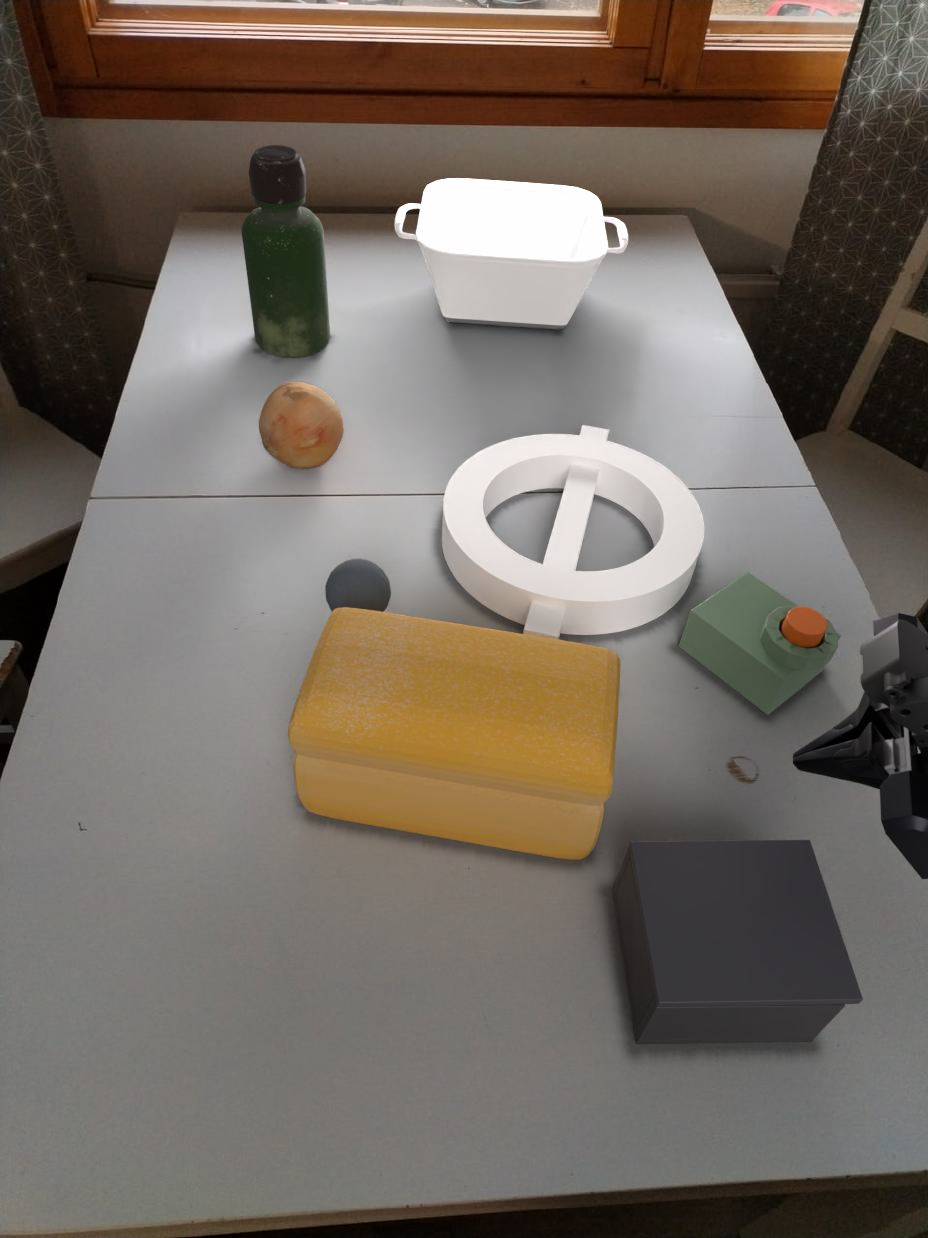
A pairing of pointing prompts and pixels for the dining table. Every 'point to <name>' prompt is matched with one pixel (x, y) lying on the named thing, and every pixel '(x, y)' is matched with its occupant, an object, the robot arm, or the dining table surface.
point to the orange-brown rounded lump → (300, 425)
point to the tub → (510, 249)
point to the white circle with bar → (571, 534)
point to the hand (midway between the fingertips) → (795, 762)
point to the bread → (457, 732)
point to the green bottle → (285, 258)
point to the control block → (754, 643)
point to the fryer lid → (739, 924)
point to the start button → (804, 627)
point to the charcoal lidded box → (699, 1021)
